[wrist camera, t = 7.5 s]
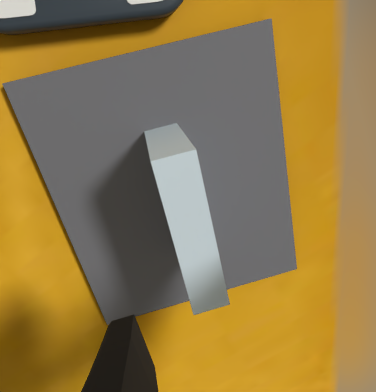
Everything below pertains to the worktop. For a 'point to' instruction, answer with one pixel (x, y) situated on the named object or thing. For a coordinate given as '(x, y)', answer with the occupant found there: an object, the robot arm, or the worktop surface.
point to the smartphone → (77, 13)
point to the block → (188, 216)
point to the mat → (142, 169)
